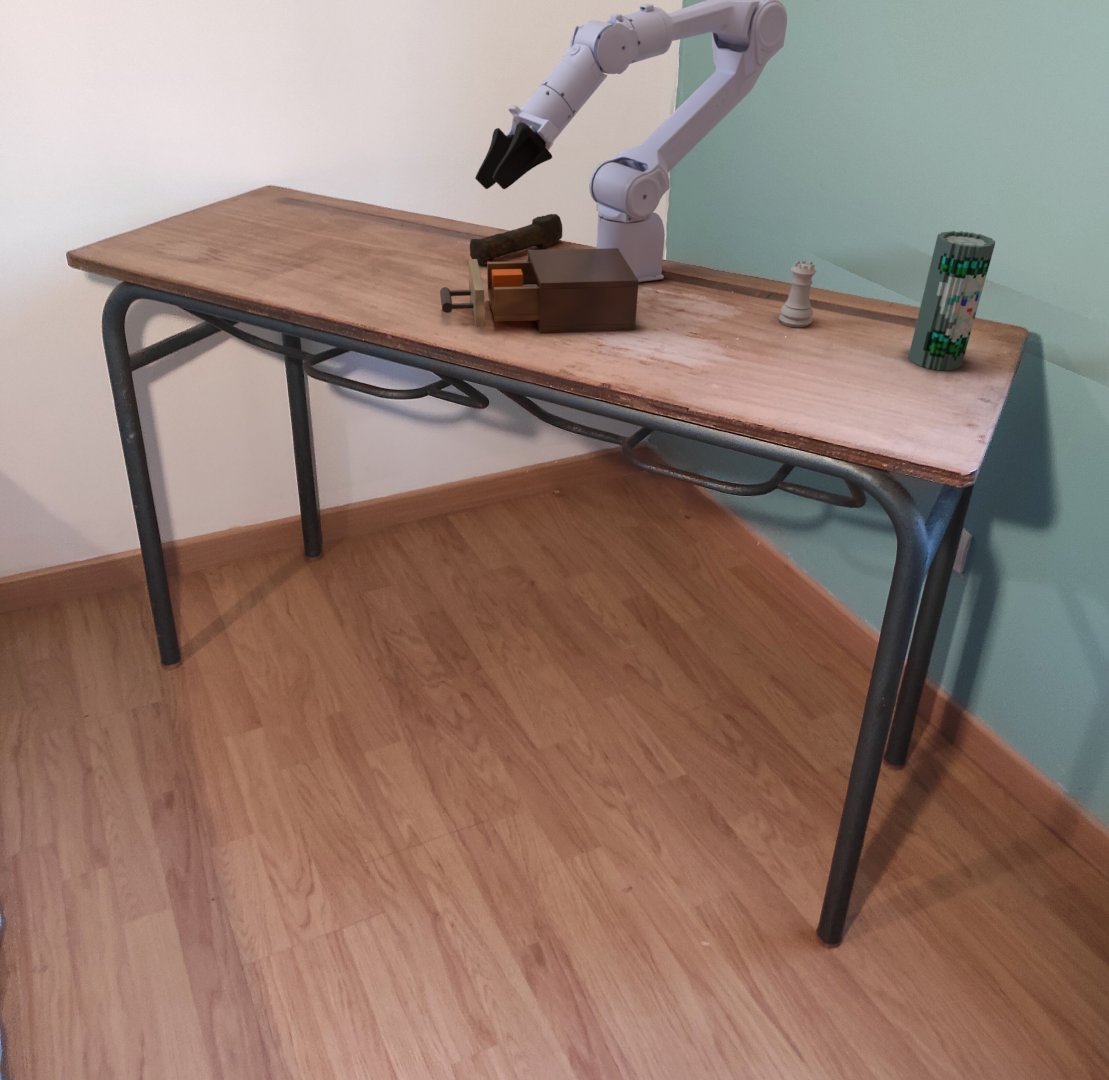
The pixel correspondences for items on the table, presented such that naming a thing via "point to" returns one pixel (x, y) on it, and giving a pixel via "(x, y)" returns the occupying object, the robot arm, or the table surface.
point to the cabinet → (584, 290)
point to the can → (950, 299)
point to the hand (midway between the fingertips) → (489, 183)
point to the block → (507, 278)
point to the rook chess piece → (799, 296)
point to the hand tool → (518, 239)
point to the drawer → (497, 294)
